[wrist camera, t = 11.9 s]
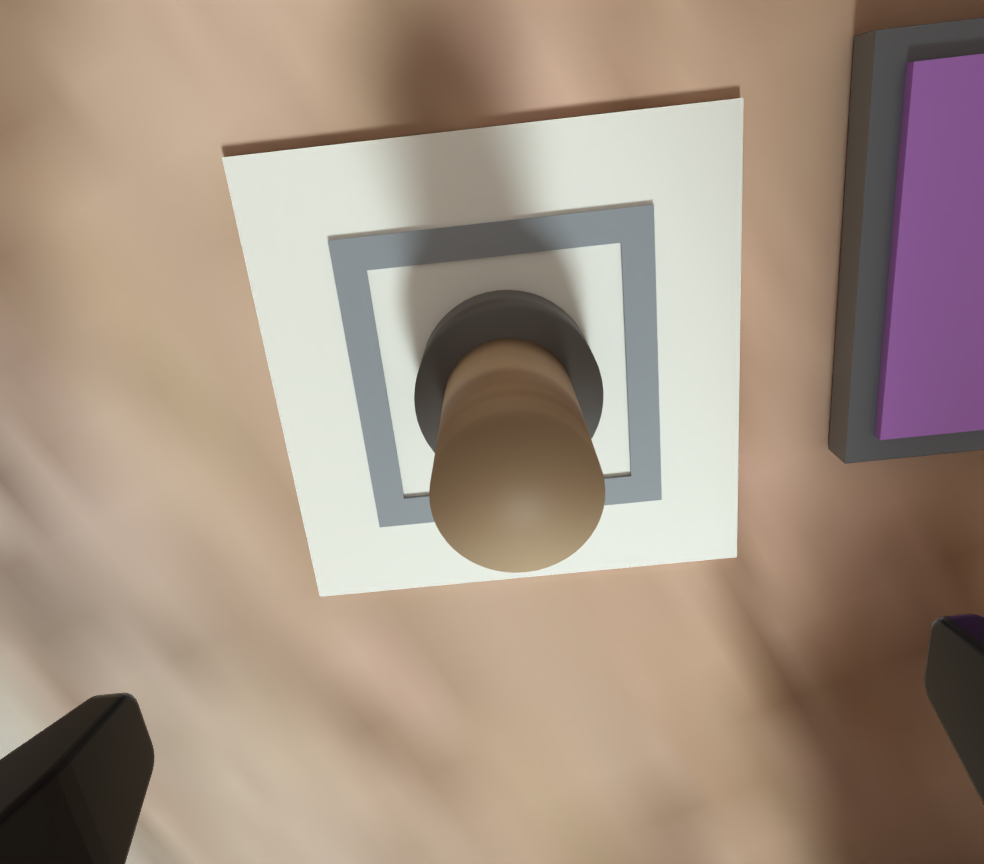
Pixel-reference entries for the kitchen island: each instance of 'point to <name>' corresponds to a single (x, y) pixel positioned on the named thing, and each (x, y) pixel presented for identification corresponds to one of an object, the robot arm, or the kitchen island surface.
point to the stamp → (511, 431)
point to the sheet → (490, 267)
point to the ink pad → (912, 247)
